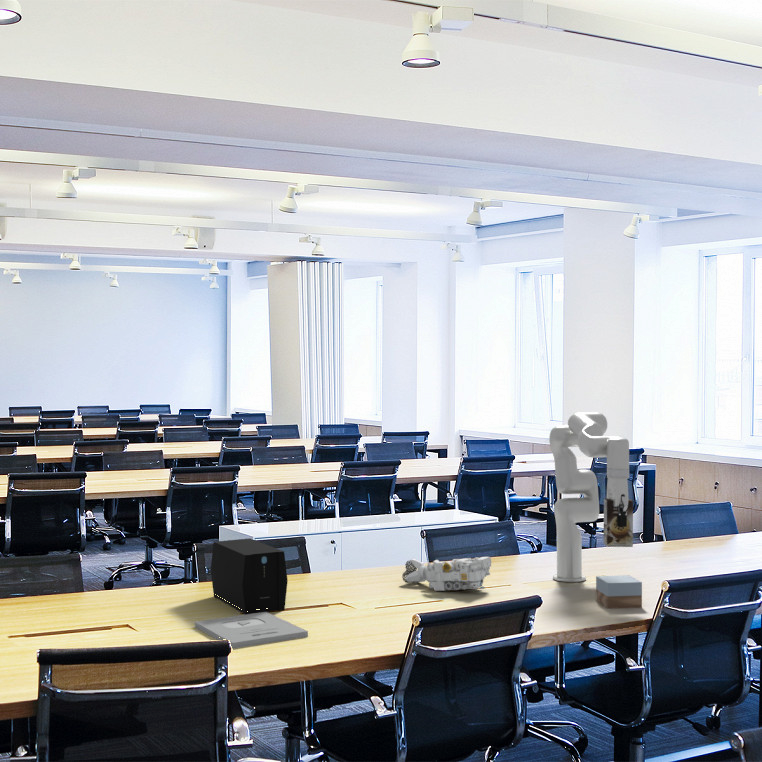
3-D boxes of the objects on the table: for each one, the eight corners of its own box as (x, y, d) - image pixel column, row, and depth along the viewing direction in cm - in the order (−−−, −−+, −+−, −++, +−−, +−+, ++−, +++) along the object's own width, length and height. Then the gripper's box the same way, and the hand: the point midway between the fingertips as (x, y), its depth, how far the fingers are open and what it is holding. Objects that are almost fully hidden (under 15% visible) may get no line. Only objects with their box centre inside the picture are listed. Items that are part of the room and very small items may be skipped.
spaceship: (479, 594, 350) (476, 560, 351) (395, 593, 368) (392, 561, 368) (497, 586, 364) (494, 554, 365) (414, 585, 382) (412, 555, 382)
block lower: (596, 601, 345) (596, 588, 345) (629, 600, 346) (629, 587, 346) (607, 609, 333) (607, 596, 333) (641, 608, 334) (641, 595, 334)
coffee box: (606, 547, 336) (606, 500, 336) (603, 544, 343) (603, 497, 343) (633, 547, 336) (633, 500, 336) (629, 544, 343) (629, 497, 343)
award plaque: (232, 650, 285) (232, 642, 285) (194, 628, 311) (194, 621, 311) (307, 638, 298) (307, 631, 298) (265, 618, 324) (265, 611, 324)
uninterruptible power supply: (242, 615, 326) (241, 555, 326) (209, 596, 356) (209, 541, 356) (287, 609, 334) (287, 551, 334) (251, 591, 363) (251, 537, 363)
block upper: (596, 588, 345) (596, 576, 345) (629, 587, 346) (629, 575, 346) (607, 596, 333) (607, 583, 333) (641, 595, 334) (641, 582, 334)
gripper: (599, 471, 348) (599, 521, 348) (615, 476, 330) (615, 529, 331) (620, 471, 348) (620, 521, 349) (637, 476, 331) (637, 528, 331)
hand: (618, 524), depth 340 cm, fingers closed on coffee box, 6 cm apart
